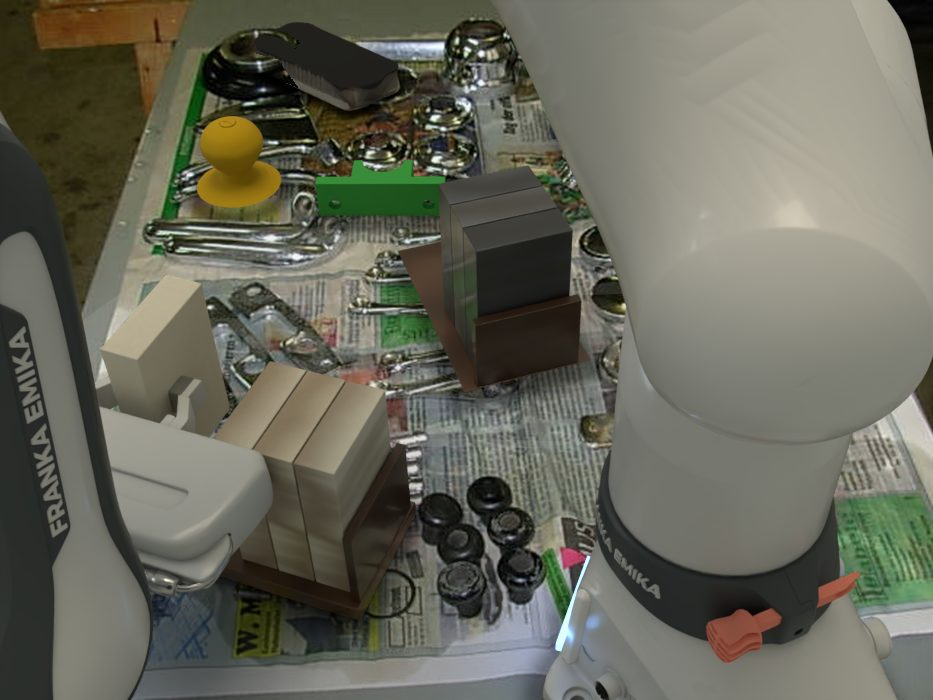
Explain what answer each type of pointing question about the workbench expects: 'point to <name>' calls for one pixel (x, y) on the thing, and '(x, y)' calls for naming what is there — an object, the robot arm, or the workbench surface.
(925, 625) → the workbench surface
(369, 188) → the pipe clamp
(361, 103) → the black sponge
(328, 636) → the workbench surface
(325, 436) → the stand
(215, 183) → the doorknob
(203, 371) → the white book
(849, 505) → the workbench surface
